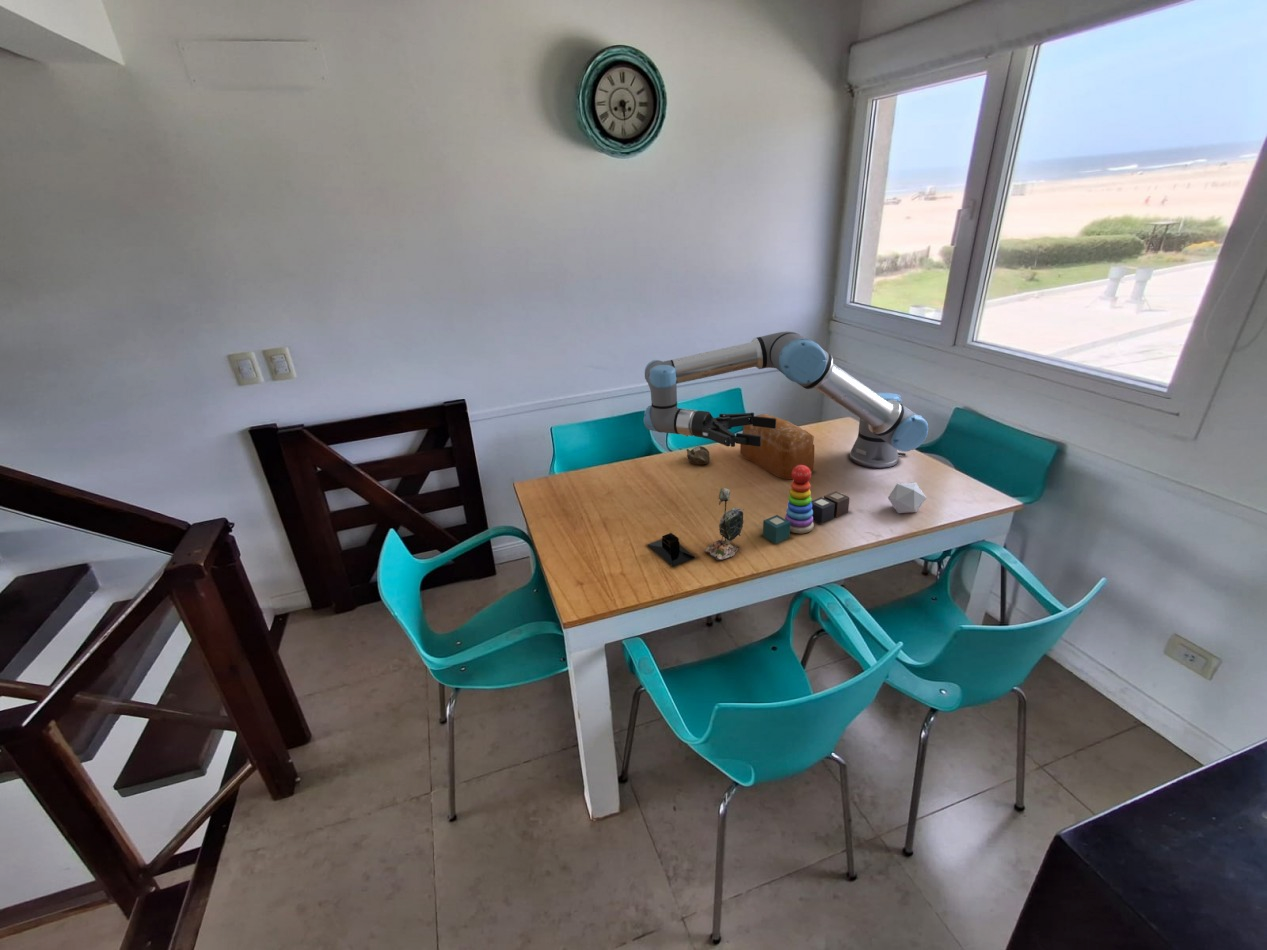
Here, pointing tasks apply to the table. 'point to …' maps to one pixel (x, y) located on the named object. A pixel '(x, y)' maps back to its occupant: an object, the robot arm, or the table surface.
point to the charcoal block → (822, 510)
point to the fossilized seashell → (698, 455)
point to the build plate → (671, 550)
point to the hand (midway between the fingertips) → (768, 432)
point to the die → (907, 497)
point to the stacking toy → (800, 501)
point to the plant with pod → (727, 529)
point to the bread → (780, 447)
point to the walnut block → (839, 503)
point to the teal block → (776, 529)
